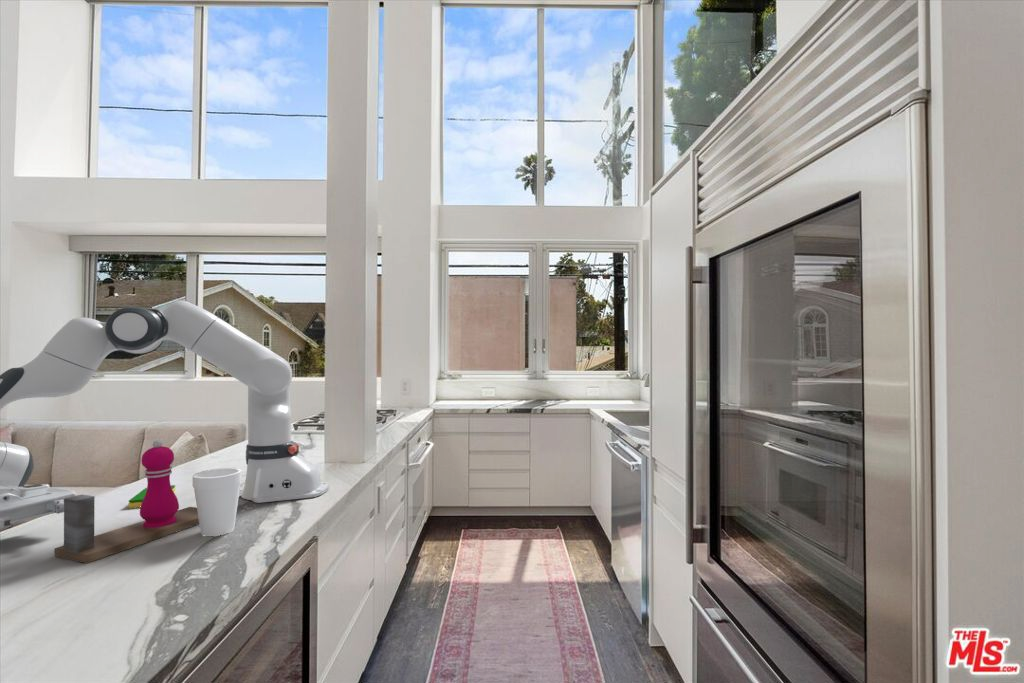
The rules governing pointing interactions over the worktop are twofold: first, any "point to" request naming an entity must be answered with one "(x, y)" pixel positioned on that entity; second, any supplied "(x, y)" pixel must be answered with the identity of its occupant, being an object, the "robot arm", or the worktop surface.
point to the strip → (90, 547)
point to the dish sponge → (141, 498)
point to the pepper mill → (158, 487)
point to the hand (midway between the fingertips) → (35, 515)
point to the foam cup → (217, 499)
